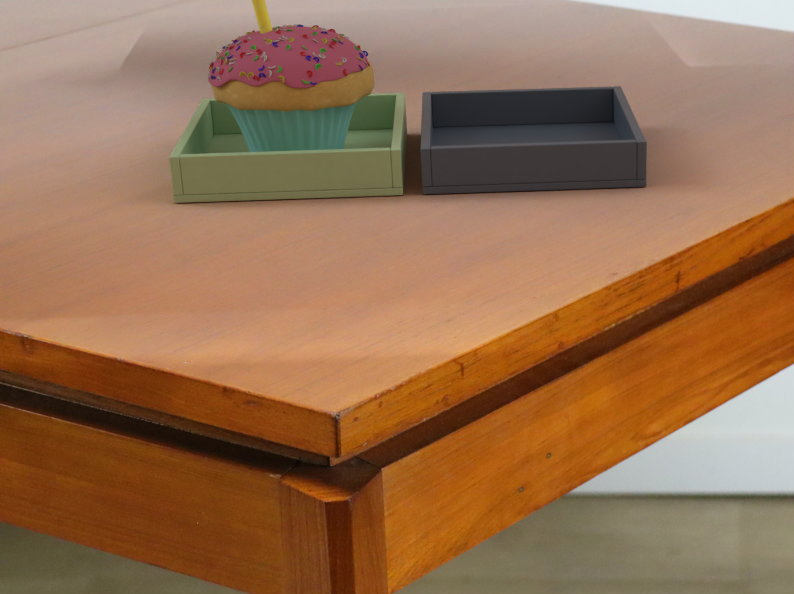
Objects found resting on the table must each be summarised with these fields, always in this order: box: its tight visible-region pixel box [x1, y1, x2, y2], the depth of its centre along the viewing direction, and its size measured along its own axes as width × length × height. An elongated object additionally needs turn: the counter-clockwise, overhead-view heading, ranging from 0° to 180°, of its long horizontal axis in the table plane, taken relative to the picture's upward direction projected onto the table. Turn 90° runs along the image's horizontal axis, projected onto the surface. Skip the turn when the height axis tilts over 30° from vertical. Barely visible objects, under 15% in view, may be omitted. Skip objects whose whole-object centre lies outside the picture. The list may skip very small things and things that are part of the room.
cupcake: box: [207, 0, 375, 152], centre depth 80 cm, size 9×8×12 cm
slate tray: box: [420, 85, 648, 195], centre depth 83 cm, size 12×12×2 cm
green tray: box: [168, 92, 408, 204], centre depth 82 cm, size 12×12×2 cm
